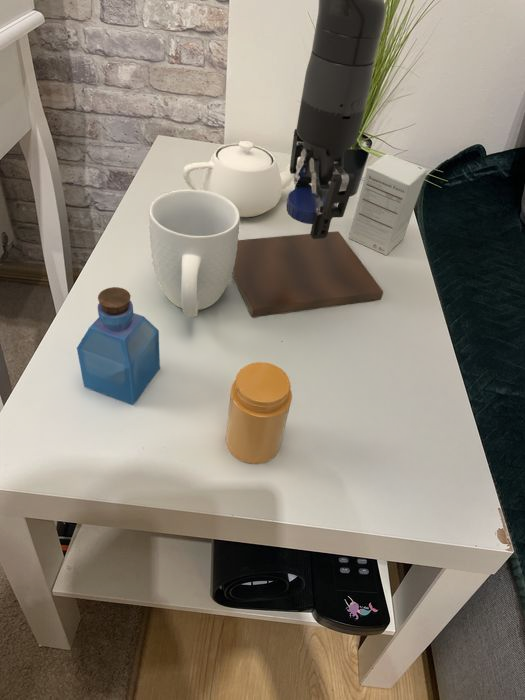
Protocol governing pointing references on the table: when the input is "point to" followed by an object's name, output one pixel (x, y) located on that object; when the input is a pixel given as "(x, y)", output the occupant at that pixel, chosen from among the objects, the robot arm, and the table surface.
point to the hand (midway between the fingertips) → (308, 222)
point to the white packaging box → (386, 203)
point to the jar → (258, 412)
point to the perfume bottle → (119, 349)
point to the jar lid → (302, 204)
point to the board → (300, 274)
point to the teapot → (243, 177)
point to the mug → (193, 246)
